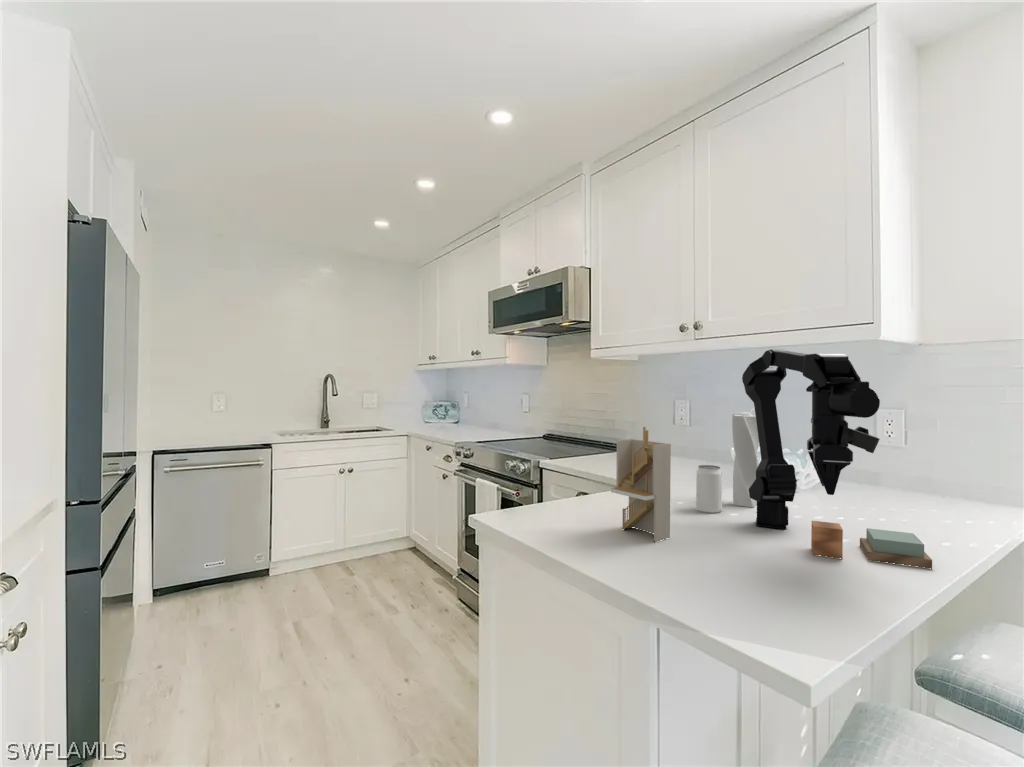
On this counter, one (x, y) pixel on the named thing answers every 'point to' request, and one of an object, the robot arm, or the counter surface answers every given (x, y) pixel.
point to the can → (709, 489)
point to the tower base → (894, 557)
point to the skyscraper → (744, 457)
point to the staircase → (645, 484)
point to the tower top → (895, 542)
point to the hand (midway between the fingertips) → (827, 490)
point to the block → (827, 539)
